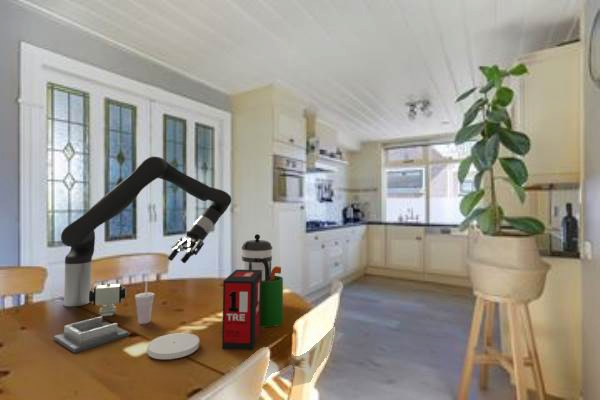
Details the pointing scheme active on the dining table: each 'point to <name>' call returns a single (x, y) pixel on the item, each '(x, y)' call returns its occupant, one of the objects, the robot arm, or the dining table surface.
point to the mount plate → (89, 334)
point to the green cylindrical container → (272, 299)
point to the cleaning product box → (242, 309)
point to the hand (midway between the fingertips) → (175, 260)
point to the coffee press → (257, 256)
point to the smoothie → (144, 306)
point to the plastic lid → (173, 346)
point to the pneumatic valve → (107, 297)
